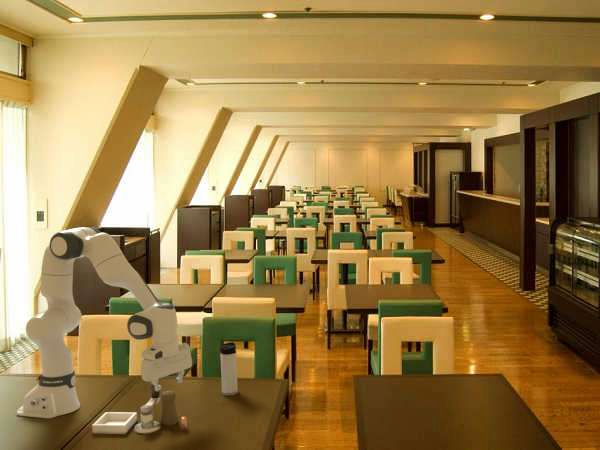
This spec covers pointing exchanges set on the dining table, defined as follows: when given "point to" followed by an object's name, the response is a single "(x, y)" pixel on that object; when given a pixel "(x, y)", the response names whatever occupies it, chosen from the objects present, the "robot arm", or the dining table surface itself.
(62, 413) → the robot arm
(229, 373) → the travel mug
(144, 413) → the crank
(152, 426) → the crank stand
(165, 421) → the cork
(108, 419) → the tray
